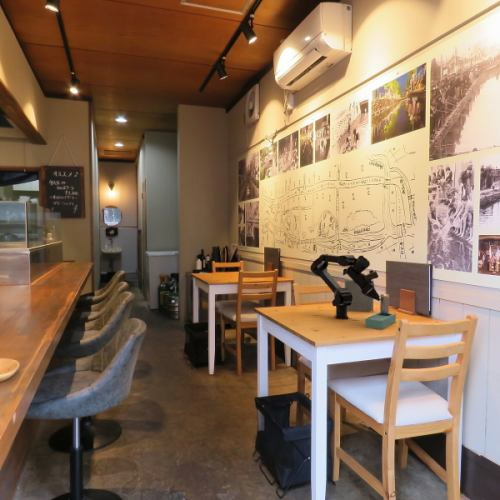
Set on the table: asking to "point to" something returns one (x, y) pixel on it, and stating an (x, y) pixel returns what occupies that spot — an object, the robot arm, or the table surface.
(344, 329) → the table surface
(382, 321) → the bar
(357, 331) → the table surface
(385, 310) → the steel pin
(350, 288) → the dark grey upright panel
